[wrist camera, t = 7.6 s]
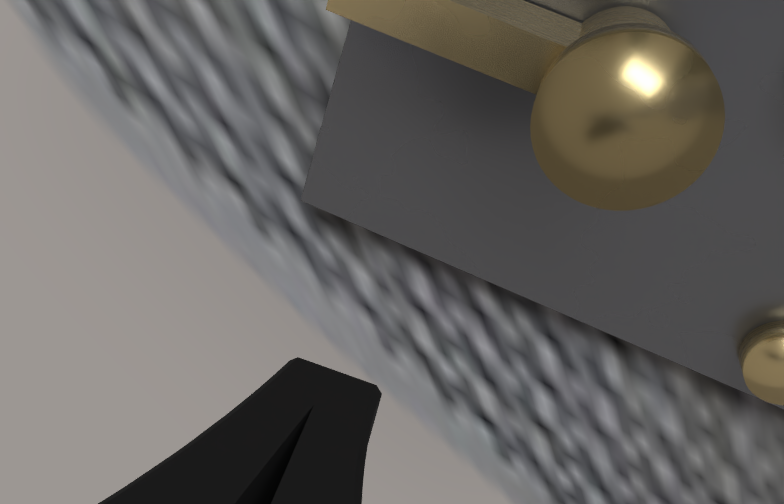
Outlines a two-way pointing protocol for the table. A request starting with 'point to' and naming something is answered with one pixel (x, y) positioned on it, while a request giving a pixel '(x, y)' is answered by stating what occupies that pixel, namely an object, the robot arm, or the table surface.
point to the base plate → (567, 216)
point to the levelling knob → (580, 89)
